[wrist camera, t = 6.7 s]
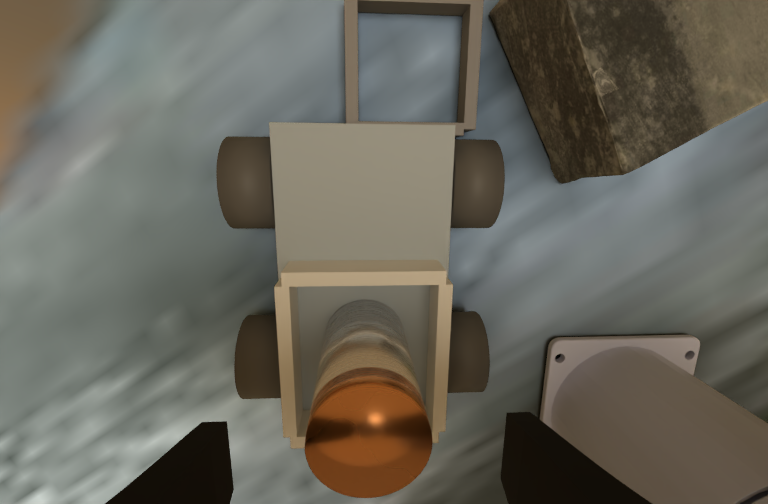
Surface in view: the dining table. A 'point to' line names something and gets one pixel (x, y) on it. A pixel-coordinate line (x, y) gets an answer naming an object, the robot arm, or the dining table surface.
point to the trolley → (365, 231)
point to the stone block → (632, 74)
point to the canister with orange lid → (366, 405)
